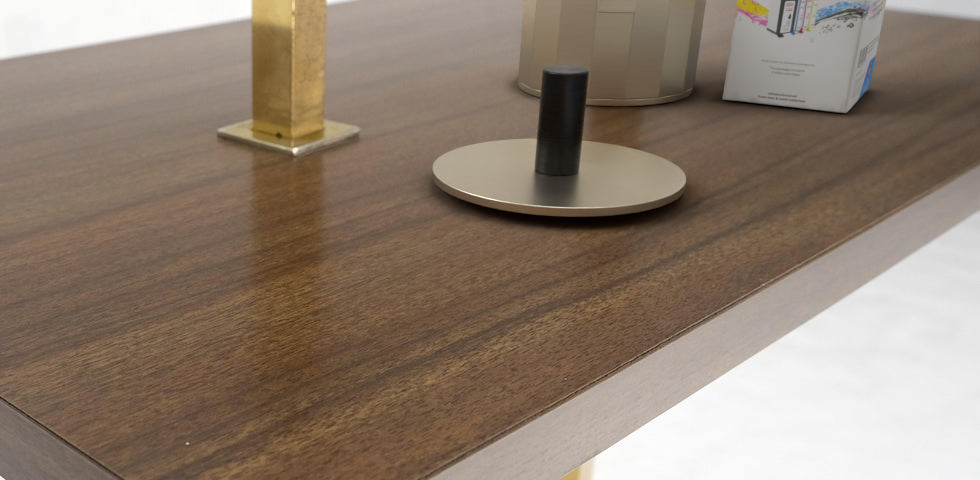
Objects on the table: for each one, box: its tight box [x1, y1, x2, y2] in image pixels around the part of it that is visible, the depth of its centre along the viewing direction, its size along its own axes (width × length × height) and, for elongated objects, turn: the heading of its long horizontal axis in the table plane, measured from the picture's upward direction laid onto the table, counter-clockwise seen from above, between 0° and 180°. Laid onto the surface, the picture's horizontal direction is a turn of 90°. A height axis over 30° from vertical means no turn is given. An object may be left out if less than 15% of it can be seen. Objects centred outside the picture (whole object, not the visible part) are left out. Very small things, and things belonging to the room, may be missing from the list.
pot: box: [517, 0, 707, 107], centre depth 86 cm, size 13×18×8 cm
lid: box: [431, 65, 687, 218], centre depth 63 cm, size 14×14×7 cm
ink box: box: [721, 0, 887, 114], centre depth 82 cm, size 9×8×12 cm
